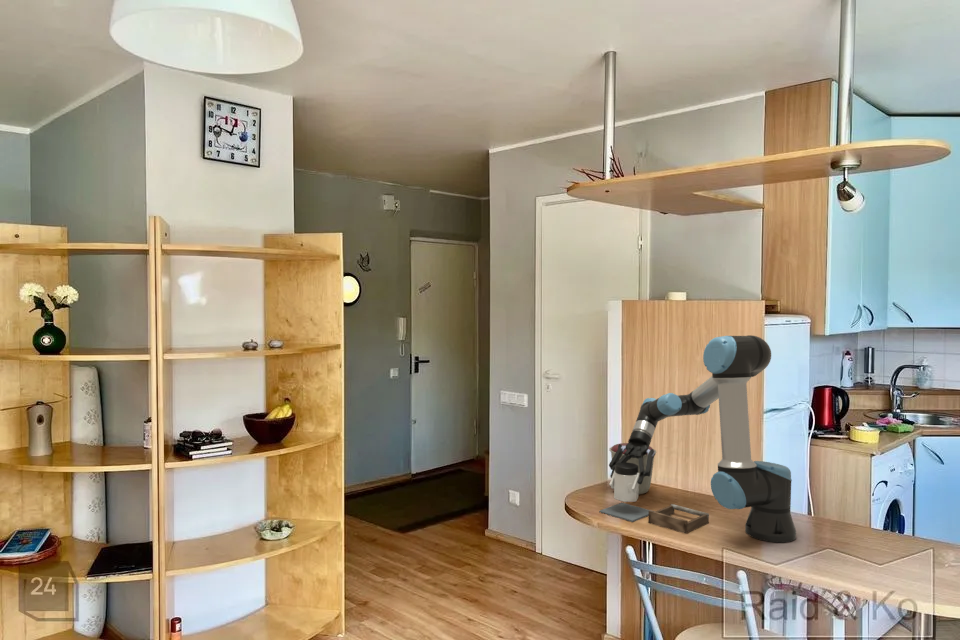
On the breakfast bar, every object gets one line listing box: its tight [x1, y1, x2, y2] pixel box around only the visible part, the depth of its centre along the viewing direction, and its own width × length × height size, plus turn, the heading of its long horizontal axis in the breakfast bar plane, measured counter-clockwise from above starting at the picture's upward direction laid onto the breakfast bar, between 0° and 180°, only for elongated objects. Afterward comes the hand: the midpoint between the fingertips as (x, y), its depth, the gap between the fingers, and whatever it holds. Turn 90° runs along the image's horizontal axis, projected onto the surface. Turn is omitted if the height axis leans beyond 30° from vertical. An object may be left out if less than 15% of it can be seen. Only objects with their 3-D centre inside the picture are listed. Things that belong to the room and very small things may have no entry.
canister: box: [608, 439, 657, 495], centre depth 262 cm, size 18×18×21 cm
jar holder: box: [647, 503, 710, 534], centre depth 226 cm, size 14×15×4 cm
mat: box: [598, 502, 656, 523], centre depth 236 cm, size 14×14×1 cm
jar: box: [613, 462, 639, 503], centre depth 236 cm, size 9×8×12 cm
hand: (622, 488), depth 233 cm, fingers closed on jar, 8 cm apart
